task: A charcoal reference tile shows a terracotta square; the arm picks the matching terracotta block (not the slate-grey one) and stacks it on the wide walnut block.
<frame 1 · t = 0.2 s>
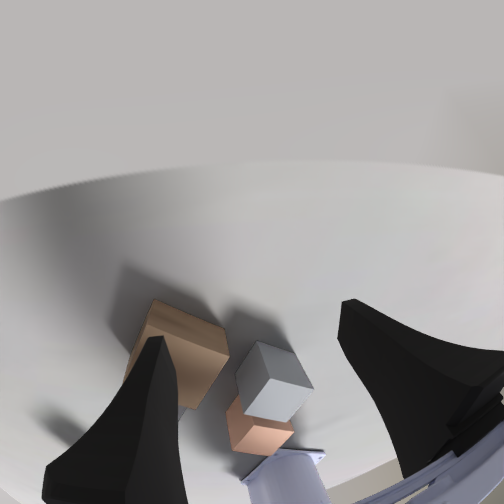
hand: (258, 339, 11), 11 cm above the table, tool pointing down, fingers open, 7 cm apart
terracotta block: (252, 404, 26), on the table
walnut block: (175, 342, 22), on the table
slate block: (265, 364, 24), on the table
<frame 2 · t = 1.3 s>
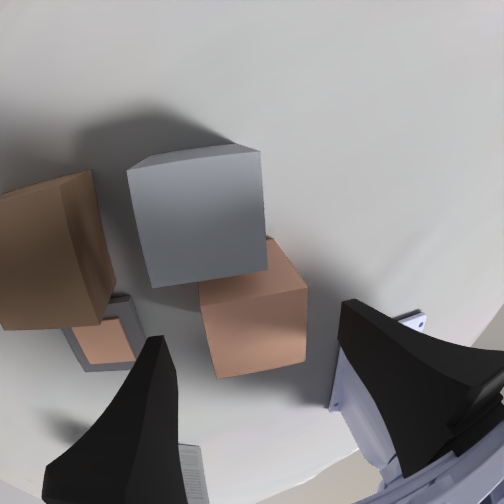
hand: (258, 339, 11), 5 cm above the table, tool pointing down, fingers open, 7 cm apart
terracotta block: (238, 278, 16), on the table
walnut block: (55, 236, 13), on the table
slate block: (197, 190, 13), on the table
skincare box: (174, 454, 23), on the table
reference tile: (105, 335, 15), on the table
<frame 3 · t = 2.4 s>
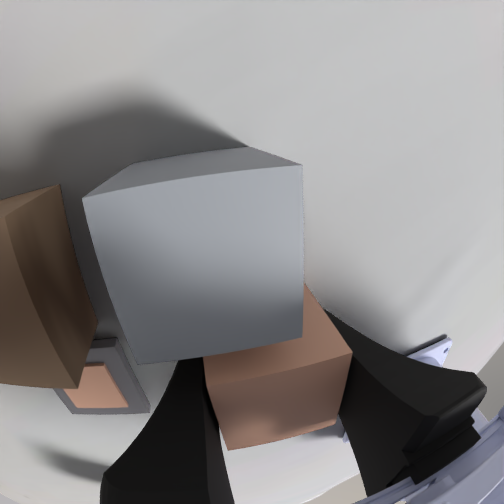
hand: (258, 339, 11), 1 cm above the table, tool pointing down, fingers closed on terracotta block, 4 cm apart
terracotta block: (250, 318, 12), on the table, touching gripper
walnut block: (22, 266, 9), on the table
slate block: (197, 209, 10), on the table
reference tile: (91, 377, 12), on the table
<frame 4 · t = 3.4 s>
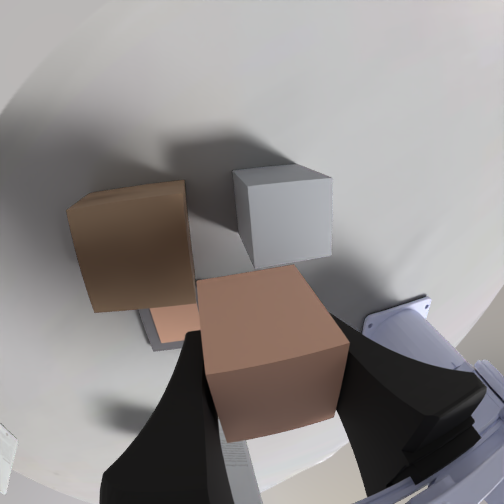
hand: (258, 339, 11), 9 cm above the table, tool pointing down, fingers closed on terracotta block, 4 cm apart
terracotta block: (250, 312, 13), point 7 cm above the table, touching gripper
walnut block: (142, 232, 17), on the table
slate block: (267, 198, 18), on the table
skincare box: (215, 430, 27), on the table
reference tile: (177, 316, 20), on the table
when the fingers open (6 cm above the table, at t = 4.5 s): terracotta block stays where it is, point 4 cm above the table.
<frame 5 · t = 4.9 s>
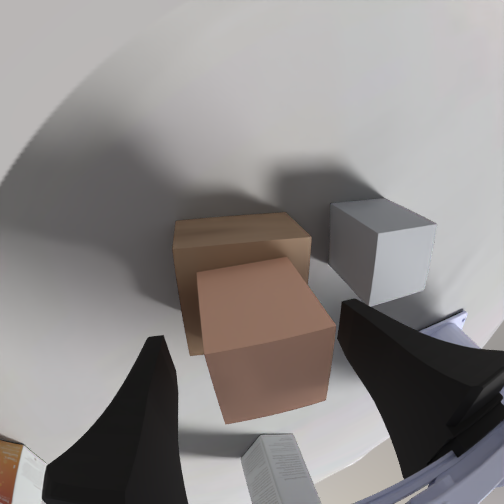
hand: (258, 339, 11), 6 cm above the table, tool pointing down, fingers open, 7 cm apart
terracotta block: (246, 302, 13), point 4 cm above the table
walnut block: (233, 264, 17), on the table
slate block: (357, 230, 18), on the table
skincare box: (266, 444, 27), on the table
small box: (18, 449, 22), on the table
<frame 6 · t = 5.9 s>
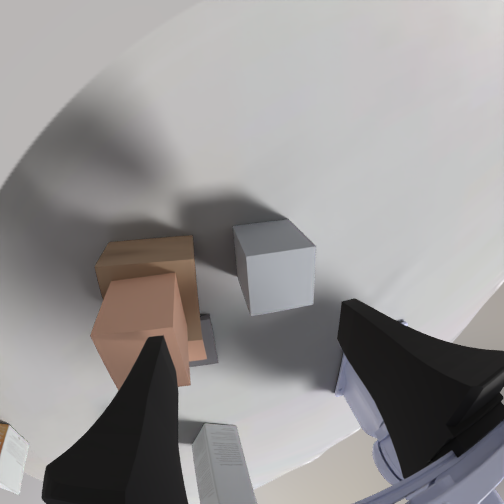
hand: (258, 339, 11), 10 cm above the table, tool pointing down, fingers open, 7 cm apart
terracotta block: (149, 305, 17), point 4 cm above the table, touching walnut block
walnut block: (155, 275, 21), on the table, touching terracotta block
slate block: (262, 248, 21), on the table
skincare box: (213, 433, 30), on the table
reference tile: (184, 342, 23), on the table
small box: (5, 430, 25), on the table
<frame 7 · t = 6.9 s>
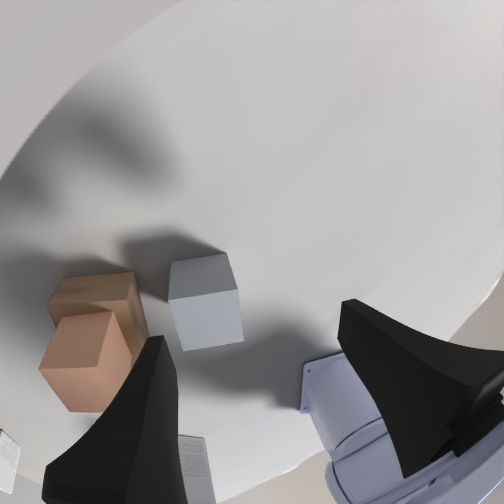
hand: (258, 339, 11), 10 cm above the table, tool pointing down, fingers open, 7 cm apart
terracotta block: (97, 337, 17), point 4 cm above the table, touching walnut block
walnut block: (107, 306, 21), on the table, touching terracotta block
slate block: (202, 281, 21), on the table
skincare box: (184, 444, 31), on the table
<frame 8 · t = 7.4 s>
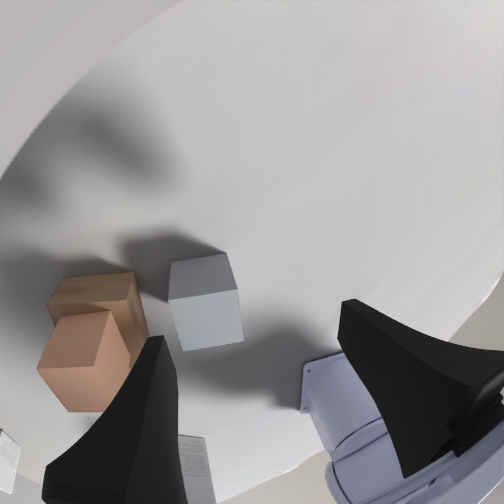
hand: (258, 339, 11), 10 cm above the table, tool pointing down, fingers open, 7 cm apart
terracotta block: (95, 337, 17), point 4 cm above the table, touching walnut block
walnut block: (107, 306, 21), on the table, touching terracotta block
slate block: (202, 281, 21), on the table
skincare box: (184, 444, 31), on the table
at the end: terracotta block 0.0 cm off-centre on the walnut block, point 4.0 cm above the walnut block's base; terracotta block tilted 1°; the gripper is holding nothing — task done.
